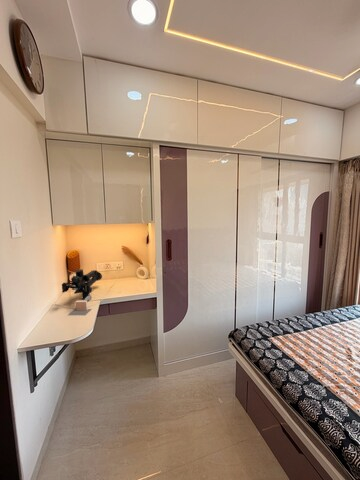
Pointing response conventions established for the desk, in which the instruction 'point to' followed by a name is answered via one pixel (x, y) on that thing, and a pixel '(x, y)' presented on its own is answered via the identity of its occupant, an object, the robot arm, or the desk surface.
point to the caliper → (86, 299)
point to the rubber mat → (79, 312)
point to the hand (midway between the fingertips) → (68, 292)
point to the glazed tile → (81, 305)
